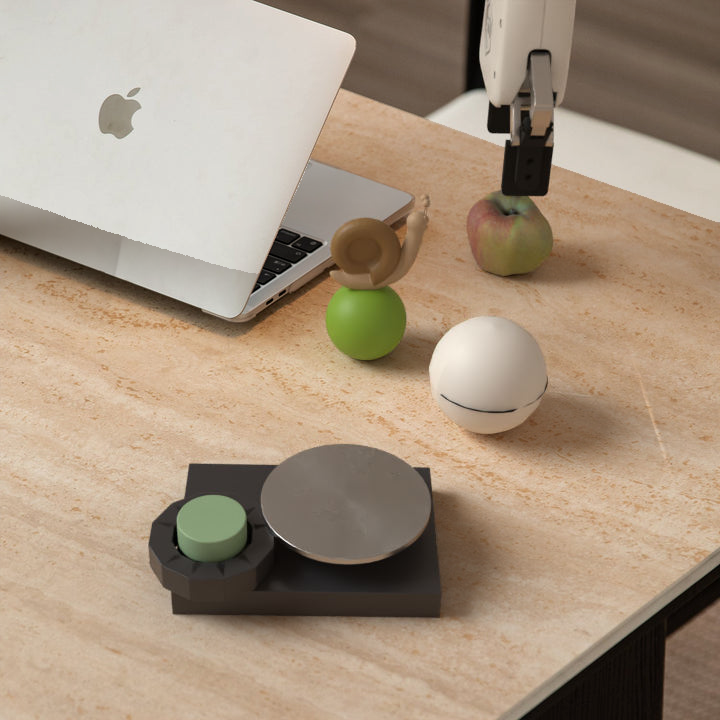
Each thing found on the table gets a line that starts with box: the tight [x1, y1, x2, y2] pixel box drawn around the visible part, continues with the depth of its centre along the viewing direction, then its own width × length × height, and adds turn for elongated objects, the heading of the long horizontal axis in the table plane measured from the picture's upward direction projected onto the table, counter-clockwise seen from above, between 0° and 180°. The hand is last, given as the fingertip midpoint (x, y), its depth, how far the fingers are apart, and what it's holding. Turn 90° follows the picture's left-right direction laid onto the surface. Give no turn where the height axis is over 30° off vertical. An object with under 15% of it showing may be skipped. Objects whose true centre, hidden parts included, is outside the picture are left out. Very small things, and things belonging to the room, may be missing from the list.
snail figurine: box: [325, 193, 431, 361], centre depth 81 cm, size 5×6×12 cm
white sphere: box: [428, 315, 591, 435], centre depth 76 cm, size 10×7×7 cm
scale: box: [147, 462, 443, 619], centre depth 68 cm, size 15×11×4 cm
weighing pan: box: [261, 443, 431, 565], centre depth 67 cm, size 9×9×1 cm
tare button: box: [177, 495, 247, 563], centre depth 65 cm, size 4×4×2 cm
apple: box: [466, 189, 554, 277], centre depth 93 cm, size 6×8×6 cm
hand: (515, 161), depth 90 cm, fingers open, 9 cm apart
